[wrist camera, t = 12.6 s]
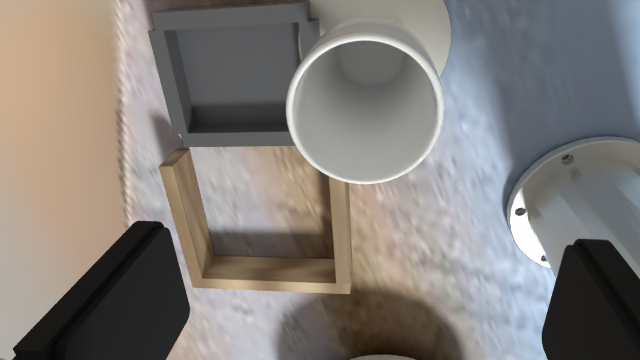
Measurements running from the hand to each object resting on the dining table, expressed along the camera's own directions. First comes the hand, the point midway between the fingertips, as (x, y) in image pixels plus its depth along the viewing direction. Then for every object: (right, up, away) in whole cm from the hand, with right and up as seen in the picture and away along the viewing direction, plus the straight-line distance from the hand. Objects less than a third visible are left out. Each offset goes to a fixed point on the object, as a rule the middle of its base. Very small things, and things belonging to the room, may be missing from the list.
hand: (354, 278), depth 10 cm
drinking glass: (+3, +12, +20) cm, 24 cm away
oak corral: (-6, 0, +29) cm, 30 cm away
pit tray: (-7, +11, +23) cm, 27 cm away
